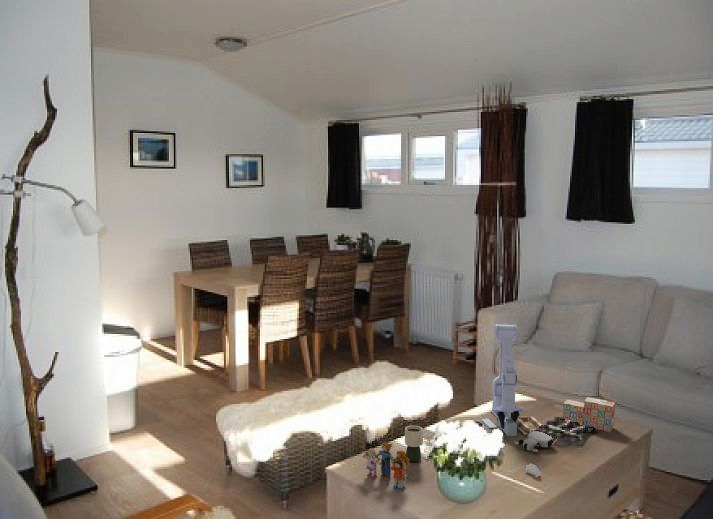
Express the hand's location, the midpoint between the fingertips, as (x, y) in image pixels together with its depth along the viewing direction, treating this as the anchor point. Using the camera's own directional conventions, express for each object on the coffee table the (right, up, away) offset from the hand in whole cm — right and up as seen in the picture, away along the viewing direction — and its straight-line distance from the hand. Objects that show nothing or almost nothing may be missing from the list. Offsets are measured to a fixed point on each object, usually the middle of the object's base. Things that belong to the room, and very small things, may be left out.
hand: (507, 427), depth 283 cm
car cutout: (-3, -7, -38) cm, 39 cm away
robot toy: (+8, -4, -17) cm, 19 cm away
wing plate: (-7, -1, +7) cm, 10 cm away
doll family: (-55, -7, -47) cm, 72 cm away
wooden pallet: (+11, -1, +3) cm, 11 cm away
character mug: (-45, -5, -30) cm, 54 cm away
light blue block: (0, -1, 0) cm, 2 cm away
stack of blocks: (+39, -1, +8) cm, 40 cm away
